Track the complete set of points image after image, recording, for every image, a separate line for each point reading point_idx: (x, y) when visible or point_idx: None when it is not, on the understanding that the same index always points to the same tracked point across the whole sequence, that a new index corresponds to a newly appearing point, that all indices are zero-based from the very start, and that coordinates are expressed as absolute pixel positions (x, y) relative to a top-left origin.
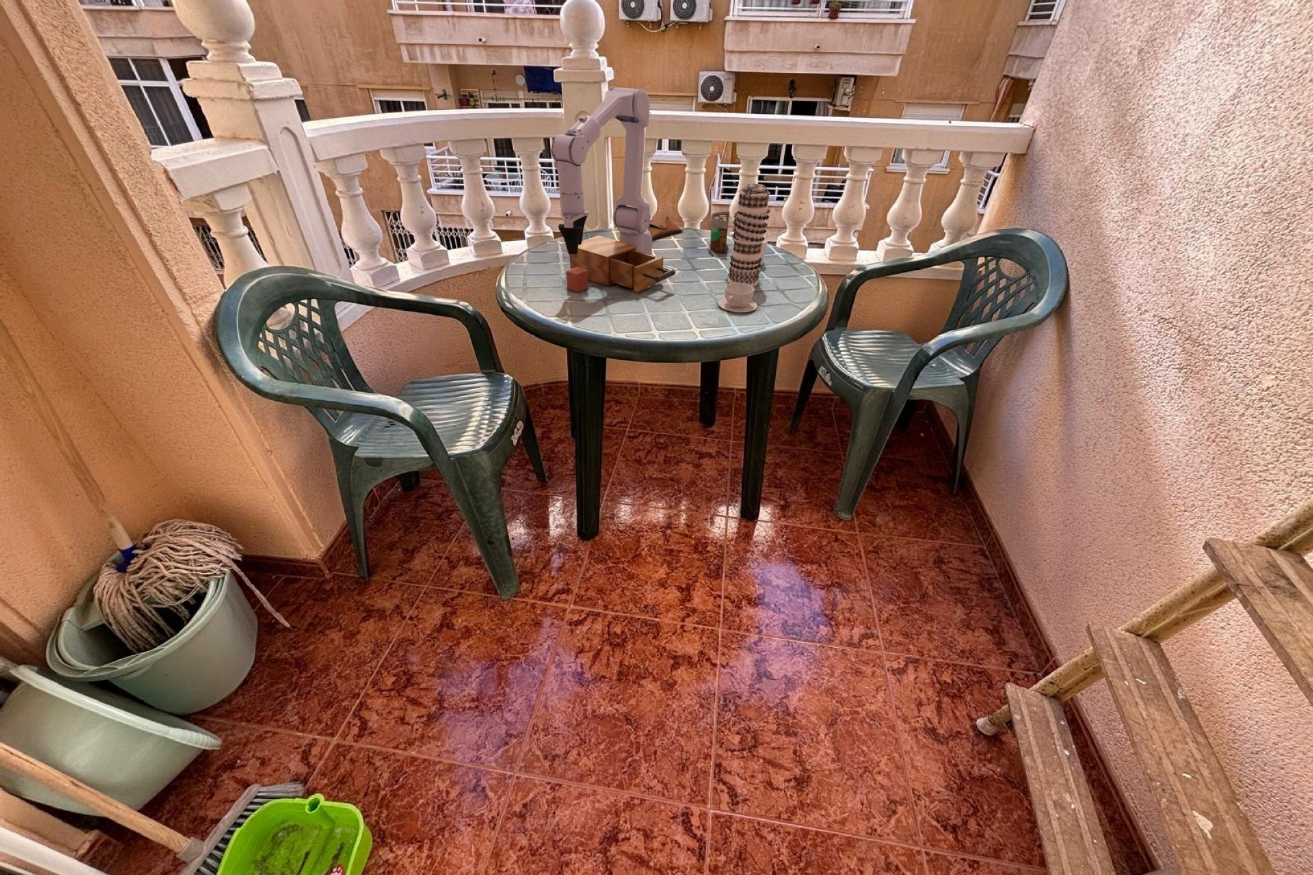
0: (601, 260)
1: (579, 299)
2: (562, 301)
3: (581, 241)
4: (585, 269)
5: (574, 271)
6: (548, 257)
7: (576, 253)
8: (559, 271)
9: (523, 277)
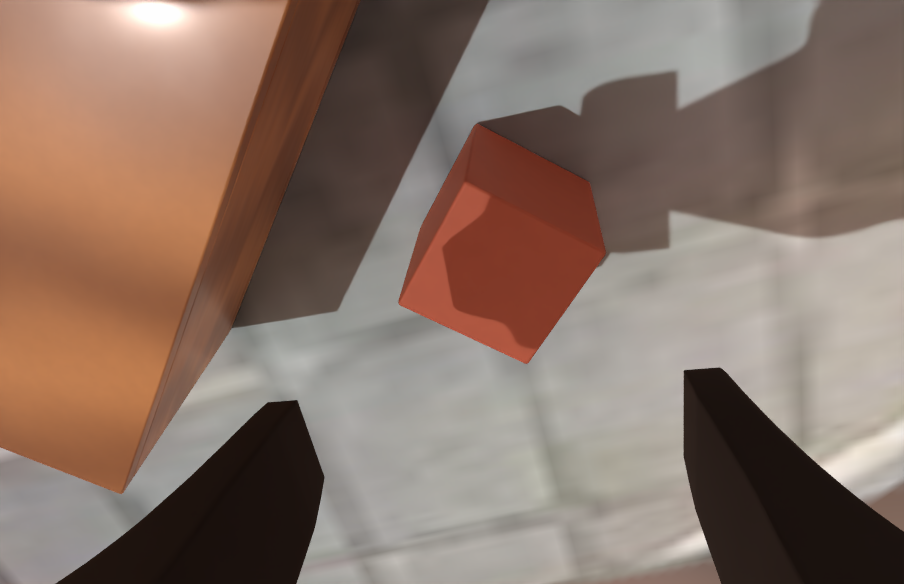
0: (283, 69)
1: (745, 127)
2: (795, 246)
3: (277, 425)
4: (255, 231)
5: (525, 293)
6: (31, 513)
7: (730, 378)
8: (222, 405)
9: (405, 552)
